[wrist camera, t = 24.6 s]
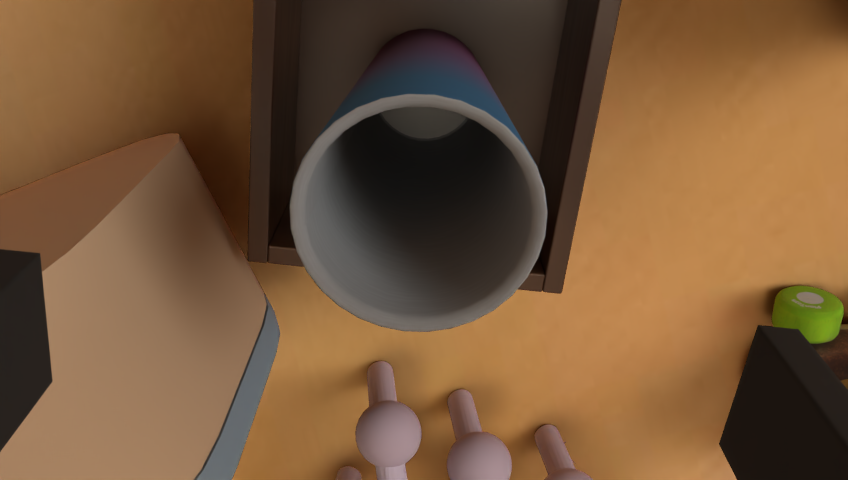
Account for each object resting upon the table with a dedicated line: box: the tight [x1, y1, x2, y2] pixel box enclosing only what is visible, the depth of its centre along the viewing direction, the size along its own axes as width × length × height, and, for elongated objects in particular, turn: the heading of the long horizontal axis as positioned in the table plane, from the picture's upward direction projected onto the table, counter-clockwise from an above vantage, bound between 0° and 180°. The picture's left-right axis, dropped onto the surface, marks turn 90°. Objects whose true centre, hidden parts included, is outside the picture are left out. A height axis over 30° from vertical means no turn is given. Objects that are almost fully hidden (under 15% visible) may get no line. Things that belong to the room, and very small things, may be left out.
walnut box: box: [247, 0, 622, 294], centre depth 32 cm, size 13×13×7 cm
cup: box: [290, 29, 548, 332], centre depth 28 cm, size 7×7×15 cm
